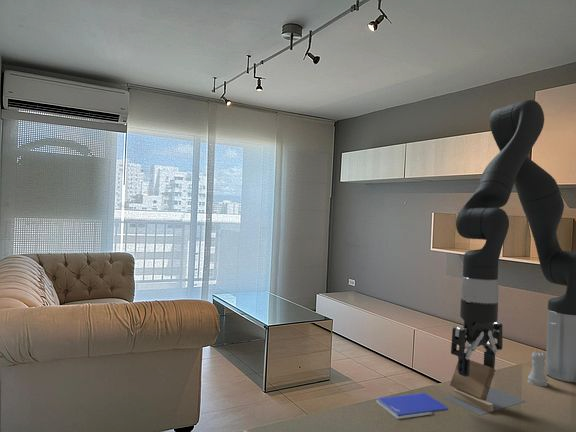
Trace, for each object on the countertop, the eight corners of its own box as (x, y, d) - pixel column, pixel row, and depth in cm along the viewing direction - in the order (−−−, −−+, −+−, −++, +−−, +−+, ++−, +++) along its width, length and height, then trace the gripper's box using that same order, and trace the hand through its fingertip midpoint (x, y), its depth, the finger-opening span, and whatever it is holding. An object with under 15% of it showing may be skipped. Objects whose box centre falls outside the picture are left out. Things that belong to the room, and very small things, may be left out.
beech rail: (456, 395, 99) (457, 388, 99) (492, 411, 91) (493, 404, 91) (452, 396, 98) (452, 389, 98) (488, 412, 91) (488, 405, 91)
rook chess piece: (551, 386, 109) (552, 354, 109) (542, 389, 106) (543, 356, 106) (532, 380, 112) (533, 349, 112) (523, 383, 110) (524, 351, 110)
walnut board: (455, 387, 101) (464, 359, 103) (485, 401, 94) (495, 369, 96) (449, 385, 100) (459, 356, 102) (480, 398, 93) (490, 367, 95)
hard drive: (397, 414, 87) (448, 407, 91) (376, 397, 95) (423, 391, 99) (397, 421, 87) (448, 414, 91) (375, 404, 95) (423, 398, 99)
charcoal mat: (489, 388, 105) (489, 386, 105) (525, 403, 97) (525, 401, 97) (444, 400, 97) (444, 398, 97) (479, 417, 89) (479, 415, 89)
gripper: (484, 293, 102) (482, 362, 102) (443, 297, 95) (440, 371, 95) (515, 299, 96) (512, 373, 96) (473, 304, 89) (470, 383, 89)
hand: (476, 372), depth 96 cm, fingers open, 8 cm apart
